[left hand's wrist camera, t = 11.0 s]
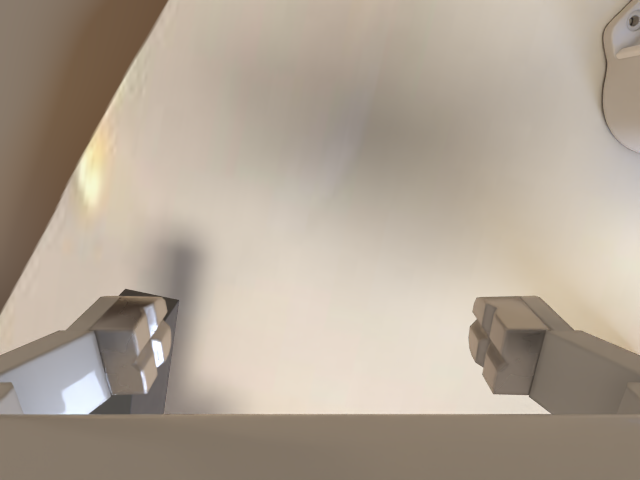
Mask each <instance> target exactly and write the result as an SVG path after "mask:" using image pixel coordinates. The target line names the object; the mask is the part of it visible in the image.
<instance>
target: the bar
mask: <svg viewBox="0 0 640 480" xmlns="http://www.w3.org/2000/svg"><path fill="white" fill-rule="evenodd" d="M119 296H123V297H124V296H141V297H161V296H157V295H152V294H147V293H142V292H138V291H133V290H128V289H125V290H124V291H123V292H122V293H121V294H120V295H119ZM162 298H163V299H164V300H165V302H166V307H167V313H166V315H165V317H164V318H163V320H164V321H165V322H166V323H167V324H168V325H169V326H170V329H171V347H170V351H169V355H168V357H167V359H166V361H165V362H164V363H163V364H161V365H160V366H158V367H157V373H158V375H157V377H156V379H155V380H154V382H153V384H152V386H151V387H150V389H149V391H148V393H147V394H132V395H111V397H110V398H109V399H107V400H106V401H105V402H104V403H102V404H101V405H100V406H98V407H97V408H96V409H94V410H93V411H92V412H90V413H89V414H163V413H164V406H165V399H166V392H167V384H168V377H169V370H170V363H171V355H172V348H173V341H174V334H175V326H176V319H177V312H178V305H179V300H176V299H171V298H166V297H162Z"/></svg>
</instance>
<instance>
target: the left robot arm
mask: <svg viewBox="0 0 640 480" xmlns="http://www.w3.org/2000/svg"><path fill="white" fill-rule="evenodd" d="M631 17H632V18H633V23H632V25H630V24H629V21H630V19H631ZM603 43H604V49H605V54H606V59H607V73H606V78H605V83H604V89H603V110H604V116H605V119H606V122H607V125H608V127H609V129H610V131H611V132H612V134H613V135H614V137H615V138H616V139H617V140H618V141H619V142H620V143H621V144H622V145H624V146H625V147H627V148H628V149H630V150H632V151H635V152H638V153H640V0H632V1H631V2H630V3H629V4H628V5H627V6H626V7H625V8H624V9H623V10H622V11H621V12H620V13H619V14H618V15H617V16H616V17H615V18H614V19H613V20H612V21H611V22H610V23H609V24H608V25H607V27H606V28H605V31H604V35H603ZM166 313H167V307H166V302H165V300H164V299H163V298H162V297H141V296H124V297H123V296H104V297H100V298H99V299H98V300H97V301H96V302H95V303H94V304H93V305H92V306H91V307H90V308H89V309H88V310H86V311H85V312H84V313H83V314H82V315H81V316H80V317H79V318H78V319H77V320H76V321H75V322H74V323H73V324H72V325H71V326H70V327H69V328H68V329H67V330H66V331H57V332H55V333H52V334H50V335H47V336H45V337H43V338H40V339H38V340H36V341H33V342H31V343H29V344H26V345H24V346H21V347H19V348H17V349H14V350H12V351H10V352H7V353H5V354H2V355H0V480H640V355H637V354H635V353H633V352H630V351H628V350H626V349H623V348H621V347H618V346H616V345H614V344H611V343H609V342H607V341H604V340H602V339H600V338H597V337H595V336H593V335H590V334H588V333H585V332H583V331H574V330H573V329H572V328H571V327H570V326H569V325H568V324H567V323H566V322H565V321H564V320H563V319H562V318H561V317H560V316H559V315H558V314H557V313H556V312H555V311H554V310H553V309H552V308H550V307H549V306H548V305H547V304H546V303H545V302H544V301H543V300H542V299H541V298H540V297H537V296H509V297H479V298H476V300H475V302H474V306H473V313H474V315H475V317H476V318H477V320H476V321H475V322H474V323H473V324H472V325H471V326H470V330H469V348H470V351H471V355H472V357H473V359H474V361H475V362H476V363H477V364H479V365H480V366H482V367H483V373H482V375H483V377H484V379H485V380H486V382H487V384H488V386H489V387H490V389H491V391H492V393H493V394H508V395H529V397H530V398H531V399H533V400H534V401H535V402H537V403H538V404H539V405H541V406H542V407H543V408H544V409H546V410H547V411H548V412H550V413H551V414H89V413H90V412H92V411H93V410H94V409H96V408H97V407H98V406H100V405H101V404H102V403H104V402H105V401H106V400H107V399H109V398H110V397H111V395H132V394H147V393H148V391H149V389H150V387H151V386H152V384H153V382H154V380H155V379H156V377H157V375H158V373H157V367H158V366H160V365H161V364H163V363H164V362H165V361H166V359H167V357H168V355H169V351H170V347H171V329H170V326H169V325H168V324H167V323H166V322H165V321H164V320H163V318H164V317H165V315H166Z"/></svg>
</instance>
